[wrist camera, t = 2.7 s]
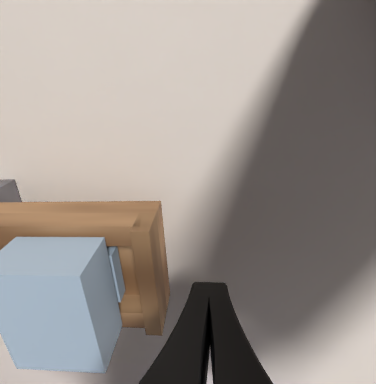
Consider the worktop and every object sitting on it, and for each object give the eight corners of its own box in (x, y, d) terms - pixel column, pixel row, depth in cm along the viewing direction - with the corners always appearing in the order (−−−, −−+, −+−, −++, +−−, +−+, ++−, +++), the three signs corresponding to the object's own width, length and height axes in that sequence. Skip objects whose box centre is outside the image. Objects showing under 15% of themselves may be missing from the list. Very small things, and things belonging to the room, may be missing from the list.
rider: (128, 307, 15) (105, 373, 12) (57, 305, 15) (16, 368, 12) (113, 223, 13) (79, 276, 10) (31, 223, 13) (-28, 274, 10)
